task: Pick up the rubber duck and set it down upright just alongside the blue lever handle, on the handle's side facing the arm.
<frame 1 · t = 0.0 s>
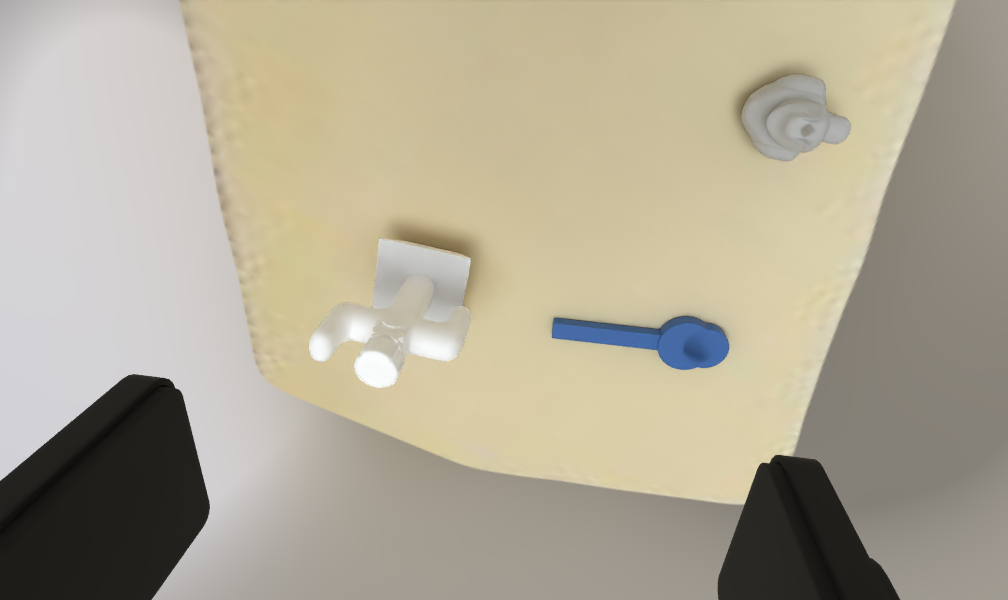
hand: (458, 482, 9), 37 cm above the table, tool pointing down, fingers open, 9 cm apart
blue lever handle: (641, 334, 50), on the table
figurine: (430, 269, 49), on the table
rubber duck: (782, 112, 40), on the table
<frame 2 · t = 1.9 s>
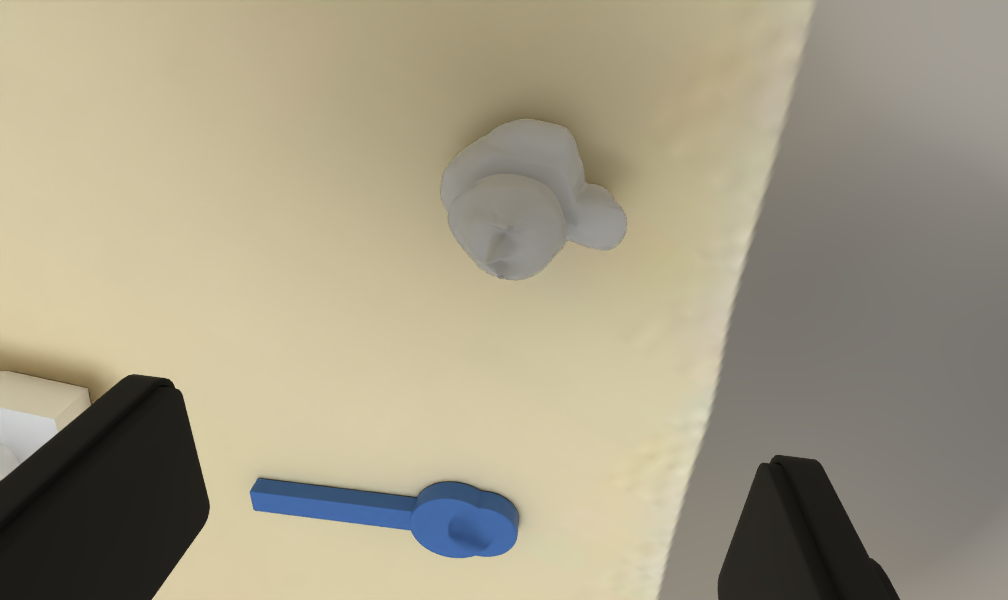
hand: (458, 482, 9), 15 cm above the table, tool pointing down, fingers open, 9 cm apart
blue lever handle: (391, 503, 32), on the table
figurine: (58, 408, 32), on the table
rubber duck: (536, 180, 23), on the table
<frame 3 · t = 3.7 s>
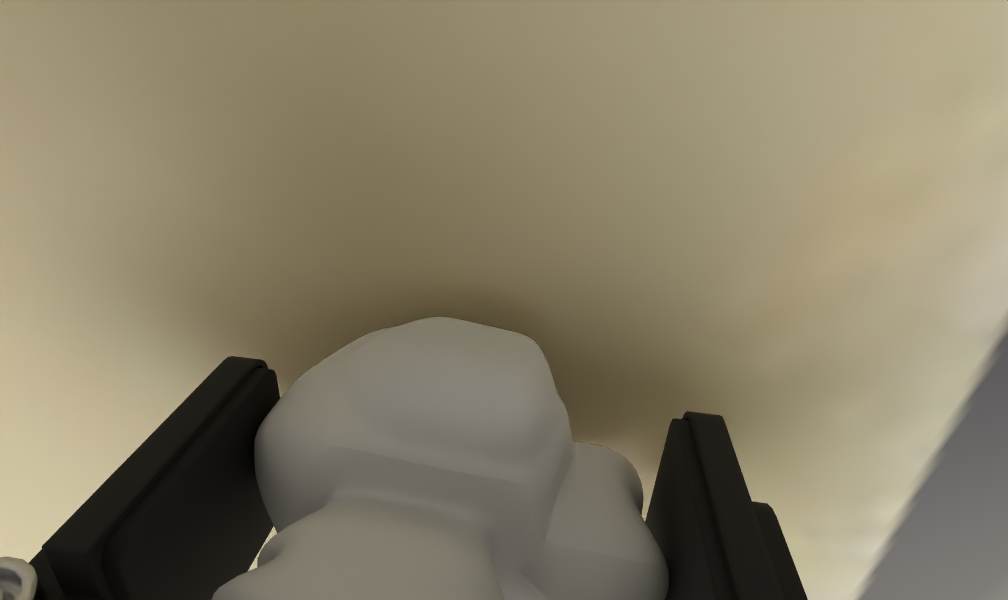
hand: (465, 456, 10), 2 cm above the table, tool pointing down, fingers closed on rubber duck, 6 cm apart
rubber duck: (481, 394, 12), on the table, touching gripper
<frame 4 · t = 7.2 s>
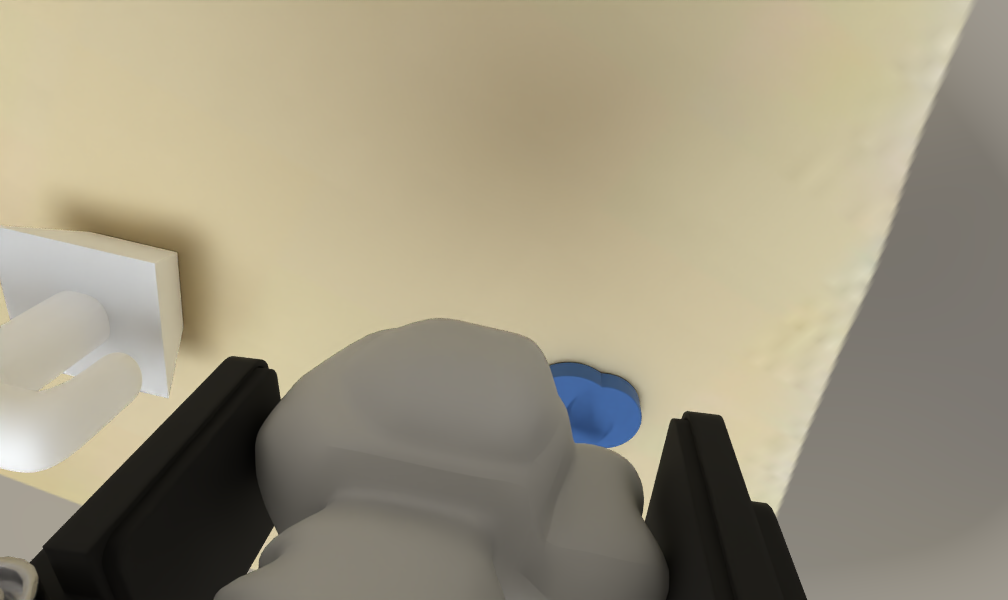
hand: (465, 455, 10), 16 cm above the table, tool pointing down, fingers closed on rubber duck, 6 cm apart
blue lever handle: (499, 390, 30), on the table
figurine: (141, 279, 29), on the table
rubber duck: (481, 395, 12), point 15 cm above the table, touching gripper
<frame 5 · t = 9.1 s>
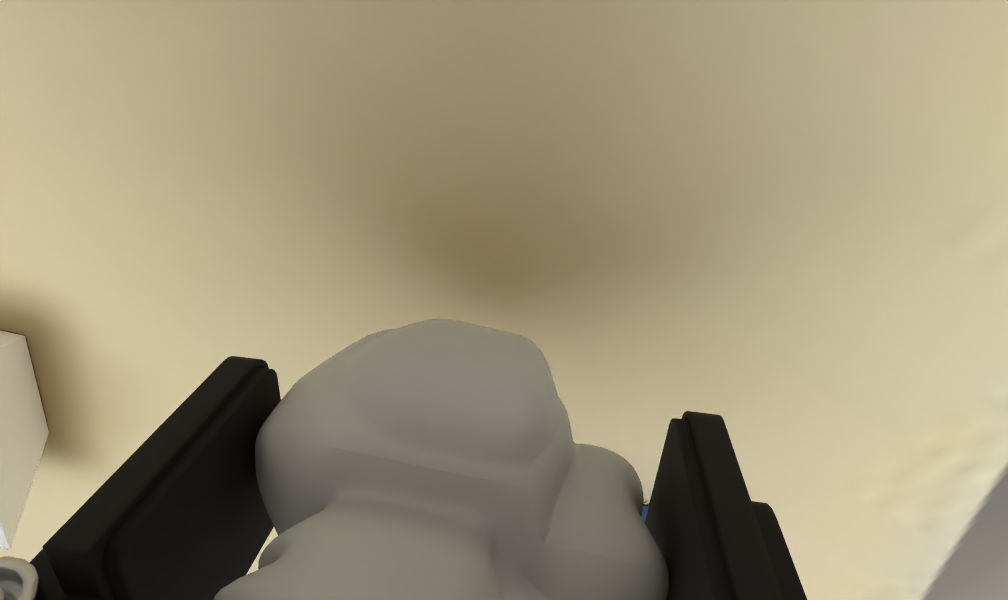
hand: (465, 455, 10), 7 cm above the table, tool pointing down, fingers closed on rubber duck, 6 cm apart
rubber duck: (481, 395, 12), point 5 cm above the table, touching gripper
when the fingers open (2 cm above the table, at t = 10.9 s): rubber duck stays where it is, on the table.
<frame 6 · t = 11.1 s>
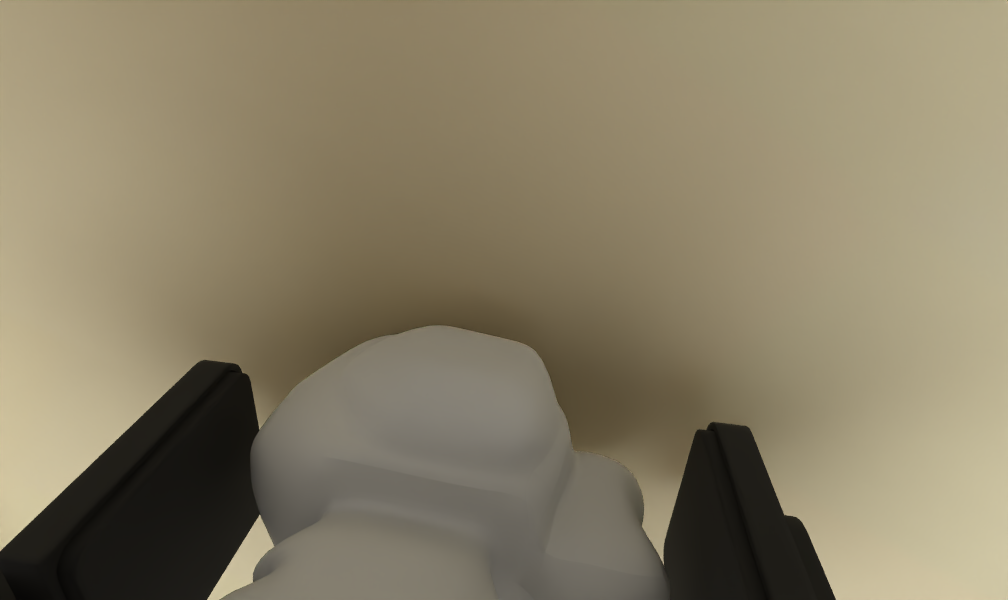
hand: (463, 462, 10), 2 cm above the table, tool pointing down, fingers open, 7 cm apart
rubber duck: (480, 401, 11), on the table
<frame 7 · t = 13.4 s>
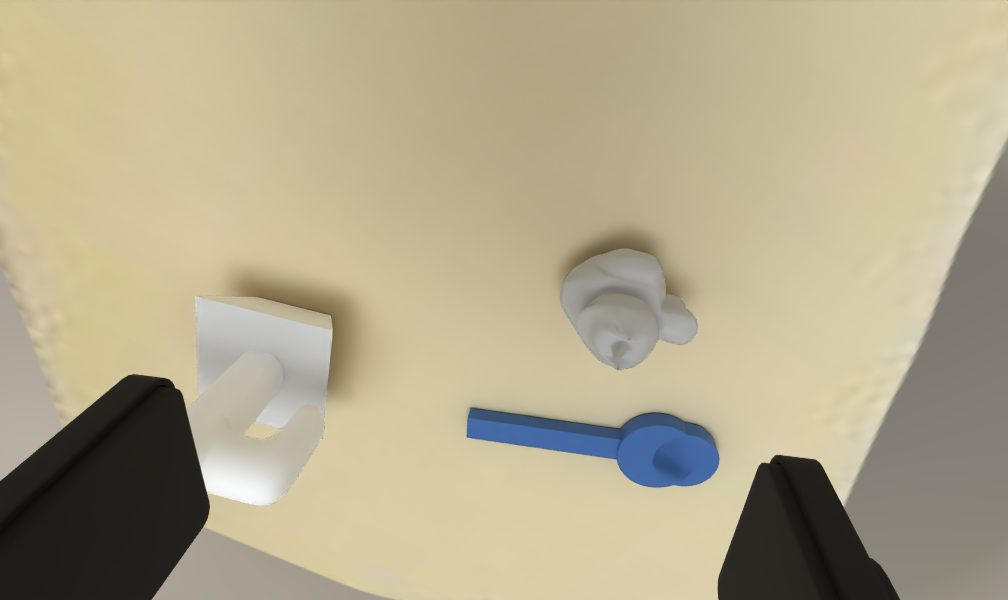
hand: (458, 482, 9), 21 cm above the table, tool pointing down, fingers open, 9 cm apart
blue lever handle: (594, 435, 35), on the table
figurine: (294, 336, 34), on the table
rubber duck: (623, 284, 30), on the table
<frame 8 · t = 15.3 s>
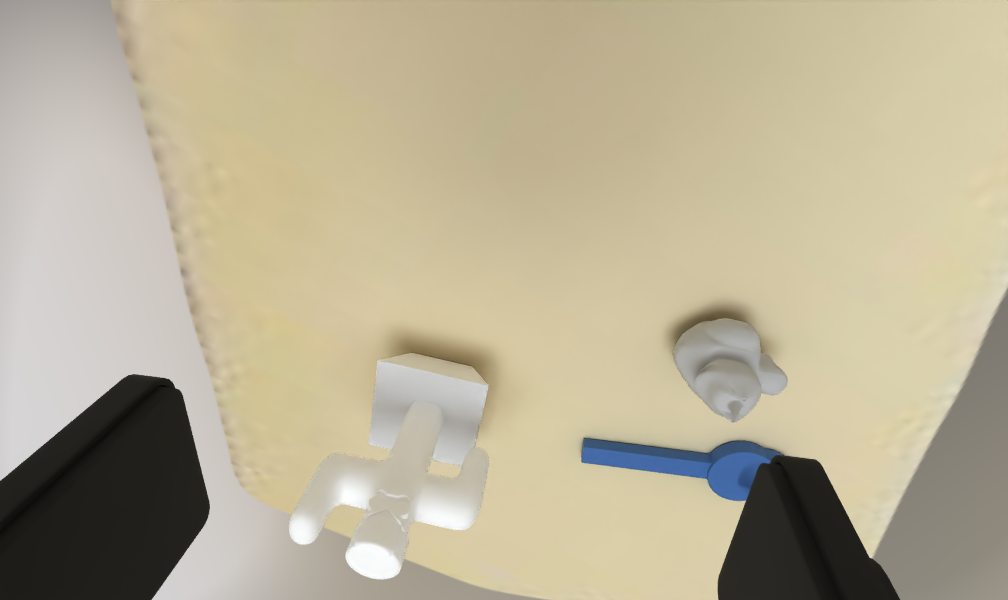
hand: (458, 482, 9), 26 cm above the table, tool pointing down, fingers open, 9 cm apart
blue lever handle: (687, 458, 42), on the table
figurine: (438, 382, 42), on the table
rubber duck: (719, 342, 38), on the table
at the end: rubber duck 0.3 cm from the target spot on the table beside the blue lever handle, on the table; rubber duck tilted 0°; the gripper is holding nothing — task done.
